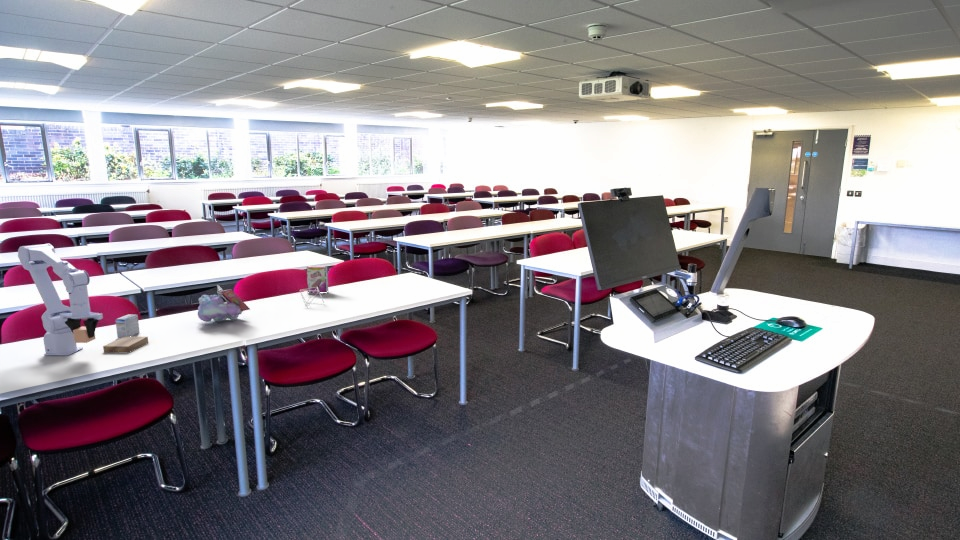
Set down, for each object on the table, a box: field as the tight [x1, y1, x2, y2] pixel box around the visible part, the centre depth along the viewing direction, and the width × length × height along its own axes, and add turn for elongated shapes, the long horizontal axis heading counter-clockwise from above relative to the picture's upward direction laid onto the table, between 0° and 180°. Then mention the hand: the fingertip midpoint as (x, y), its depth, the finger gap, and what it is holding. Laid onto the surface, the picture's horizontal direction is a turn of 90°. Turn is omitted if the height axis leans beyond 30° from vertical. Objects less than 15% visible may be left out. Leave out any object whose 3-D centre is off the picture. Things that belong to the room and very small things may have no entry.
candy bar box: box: [306, 265, 329, 293], centre depth 301 cm, size 11×5×16 cm, turn 93°
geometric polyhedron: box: [299, 287, 325, 308], centre depth 275 cm, size 12×11×9 cm
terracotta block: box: [73, 326, 96, 344], centre depth 194 cm, size 4×4×5 cm
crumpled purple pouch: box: [197, 284, 251, 323], centre depth 242 cm, size 20×22×18 cm
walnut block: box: [102, 336, 149, 353], centre depth 208 cm, size 10×12×3 cm
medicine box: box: [114, 313, 140, 339], centre depth 222 cm, size 8×4×9 cm, turn 178°
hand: (84, 337), depth 195 cm, fingers closed on terracotta block, 4 cm apart
